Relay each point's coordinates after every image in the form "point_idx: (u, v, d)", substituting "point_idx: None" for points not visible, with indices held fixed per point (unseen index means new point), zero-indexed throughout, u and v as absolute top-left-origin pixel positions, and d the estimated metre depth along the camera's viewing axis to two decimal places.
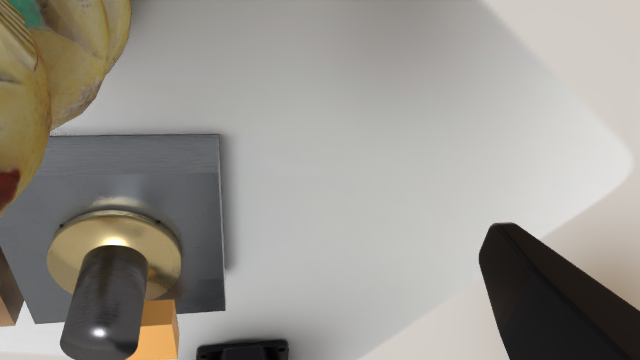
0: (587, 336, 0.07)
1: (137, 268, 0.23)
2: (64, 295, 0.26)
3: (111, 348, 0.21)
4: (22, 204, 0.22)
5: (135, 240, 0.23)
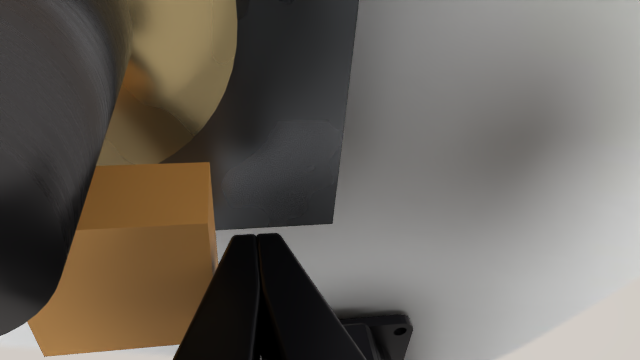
0: None
1: None
2: None
3: None
4: None
5: None
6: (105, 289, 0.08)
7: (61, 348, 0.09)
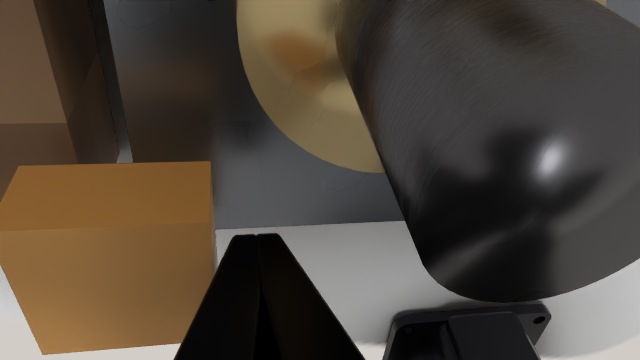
0: None
1: None
2: (236, 148, 0.10)
3: (592, 227, 0.05)
4: None
5: None
6: (105, 287, 0.08)
7: (60, 346, 0.09)
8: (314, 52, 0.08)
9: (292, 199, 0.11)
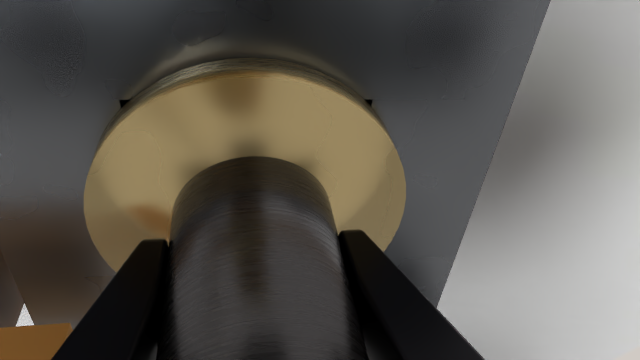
0: (391, 354, 0.07)
1: (328, 218, 0.09)
2: None
3: None
4: (18, 23, 0.07)
5: (318, 145, 0.09)
6: None
7: None
8: None
9: None
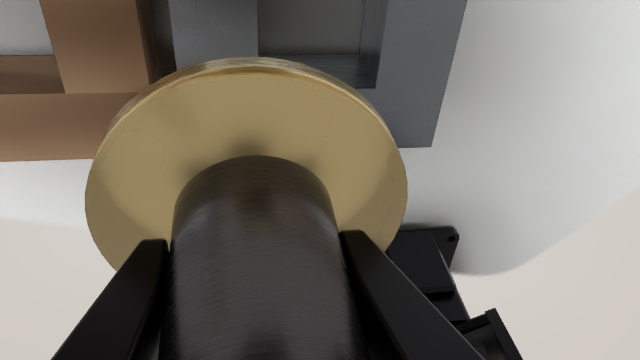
0: (391, 354, 0.07)
1: (329, 218, 0.09)
2: None
3: None
4: None
5: (320, 145, 0.09)
6: None
7: None
8: None
9: None
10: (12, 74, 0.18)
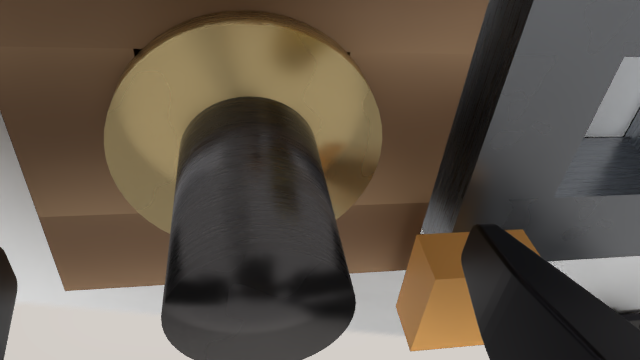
0: (563, 338, 0.07)
1: (312, 149, 0.10)
2: (519, 214, 0.15)
3: (286, 328, 0.08)
4: (601, 0, 0.11)
5: (304, 87, 0.10)
6: (472, 310, 0.13)
7: (423, 346, 0.14)
8: (167, 175, 0.11)
9: (538, 245, 0.16)
10: None
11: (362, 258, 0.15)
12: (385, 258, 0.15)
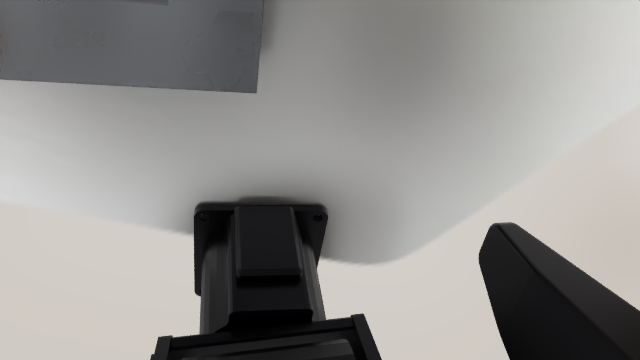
0: (587, 336, 0.07)
1: None
2: None
3: None
4: None
5: None
6: None
7: None
8: None
9: (31, 58, 0.15)
10: None
11: None
12: None
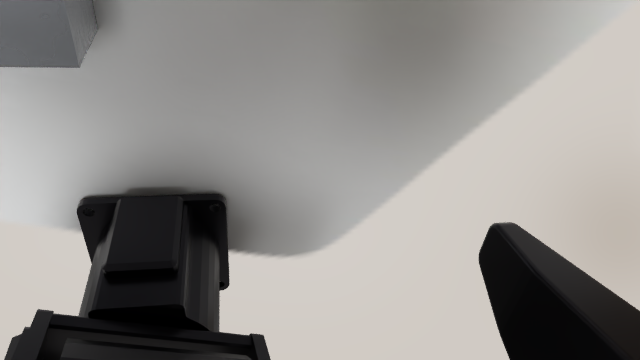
0: (587, 336, 0.07)
1: None
2: None
3: None
4: None
5: None
6: None
7: None
8: None
9: None
10: None
11: None
12: None
